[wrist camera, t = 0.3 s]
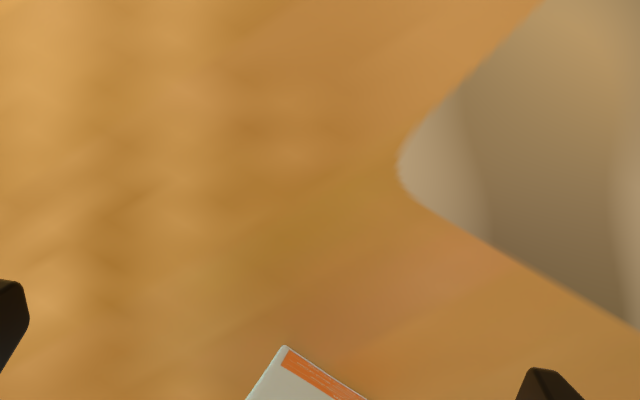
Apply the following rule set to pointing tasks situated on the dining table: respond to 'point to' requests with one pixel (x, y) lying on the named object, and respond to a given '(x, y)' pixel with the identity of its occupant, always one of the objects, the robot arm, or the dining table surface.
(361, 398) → the skincare box
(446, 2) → the dining table surface
